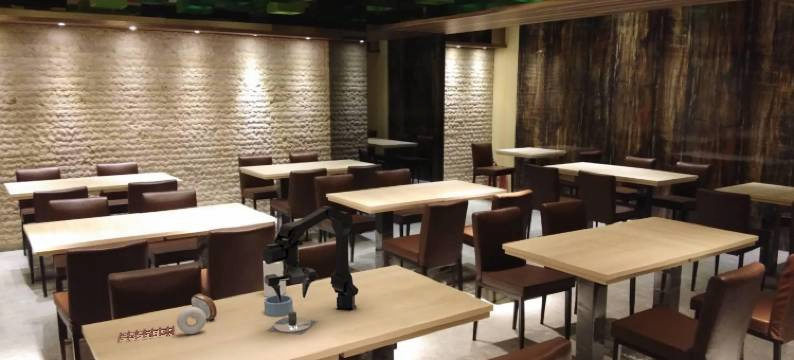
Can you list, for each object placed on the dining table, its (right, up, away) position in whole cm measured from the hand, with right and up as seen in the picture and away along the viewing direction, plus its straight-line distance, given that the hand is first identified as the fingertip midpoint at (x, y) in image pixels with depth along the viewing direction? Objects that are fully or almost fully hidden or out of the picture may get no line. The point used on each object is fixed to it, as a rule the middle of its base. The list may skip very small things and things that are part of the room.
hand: (292, 299), depth 227 cm
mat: (0, -10, +1) cm, 10 cm away
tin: (-36, -9, +12) cm, 40 cm away
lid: (0, -10, +1) cm, 10 cm away
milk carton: (-14, -6, +39) cm, 41 cm away
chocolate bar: (-51, -12, -6) cm, 53 cm away
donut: (-35, -12, -5) cm, 37 cm away
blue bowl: (-8, -8, +16) cm, 20 cm away
